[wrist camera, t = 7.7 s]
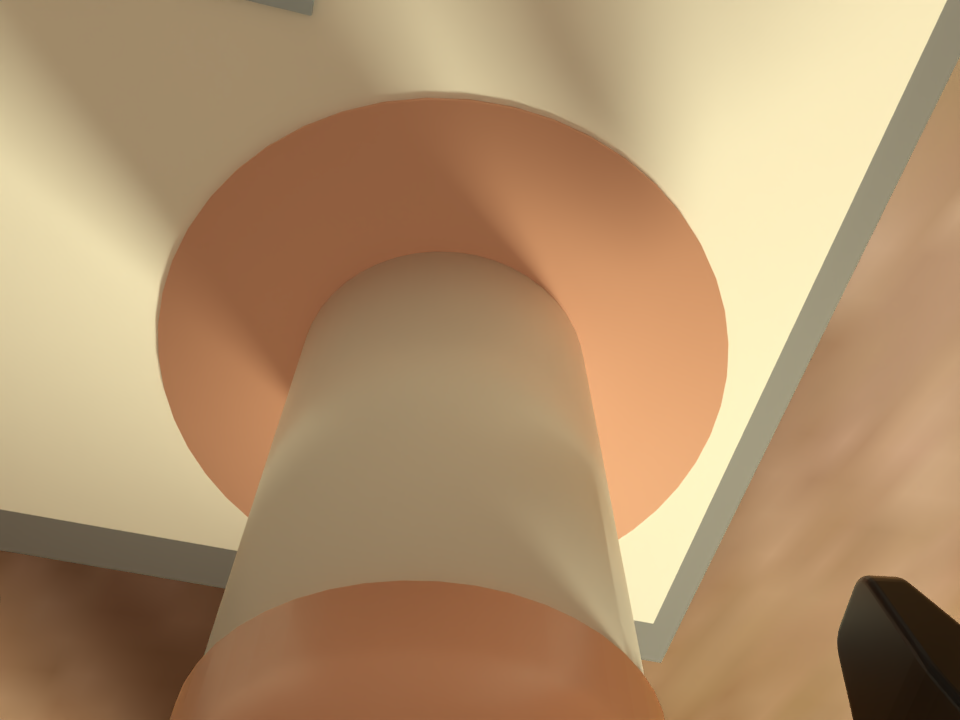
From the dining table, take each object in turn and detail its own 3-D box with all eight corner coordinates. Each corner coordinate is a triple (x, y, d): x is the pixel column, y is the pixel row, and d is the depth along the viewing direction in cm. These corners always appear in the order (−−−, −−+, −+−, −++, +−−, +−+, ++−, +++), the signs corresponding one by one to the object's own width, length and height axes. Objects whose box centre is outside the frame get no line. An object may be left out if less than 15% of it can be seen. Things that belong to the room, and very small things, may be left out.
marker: (630, 280, 12) (829, 898, 5) (547, 517, 14) (610, 1175, 7) (315, 213, 12) (83, 800, 5) (277, 469, 14) (78, 1126, 7)
